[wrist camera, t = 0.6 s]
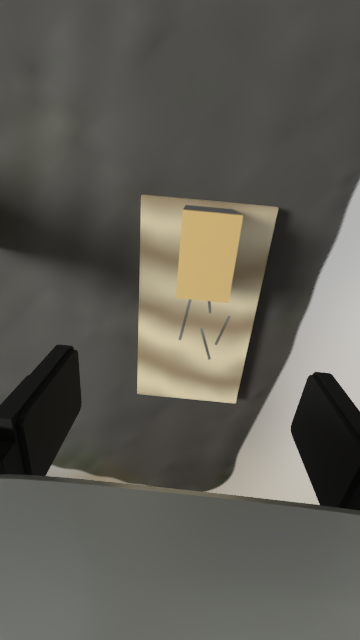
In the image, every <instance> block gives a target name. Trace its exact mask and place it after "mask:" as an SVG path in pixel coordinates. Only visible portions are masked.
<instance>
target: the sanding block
mask: <svg viewBox="0 0 360 640" xmlns="http://www.w3.org/2000/svg"><path fill="white" fill-rule="evenodd" d="M242 221H243V215H242V214H240V213H238V212H237V211H235V210H233V209H225V208H214V207H204V206H193V205H185V207H184V209H183V214H182V226H181V239H180V251H179V263H178V276H177V288H176V298H180V299H191V300H202V301H212V302H223V303H229V297H230V292H231V286H232V280H233V274H234V268H235V262H236V256H237V250H238V245H239V239H240V233H241V227H242Z"/></svg>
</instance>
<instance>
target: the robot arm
mask: <svg viewBox="0 0 360 640" xmlns="http://www.w3.org/2000/svg"><path fill="white" fill-rule="evenodd" d="M80 408H81V389H80V375H79V361H78V351H77V350H74V348H73V347H72V346H67V345H56V346H55V347H54V349H53V350H52V351H51V352H50V353H49V354H48V355H47V356H46V357H45V358H44V360H43V361H42V362H41V363H40V364H39V365H38V366H37V367H36V368H35V370H34V371H33V372H32V373H31V374H30V375H28V376H27V377H26V378H25V379H24V380H23V381H22V382H21V383H20V384H19V385H18V386H17V387H16V388H15V390H14V391H13V392H12V393H11V394H10V395H9V396H8V397H7V398H6V399H5V401H4V402H3V403H2V404H1V405H0V640H360V411H359V410H358V409H357V407H356V406H355V405H354V403H353V402H352V401H351V399H350V398H349V397H348V395H347V394H346V393H345V391H344V390H343V389H342V387H341V386H340V385H339V383H338V382H337V381H336V380H335V378H334V377H333V376H332V375H331V374H329V373H320V372H315V373H314V374H313V375H310V376H309V377H308V379H307V382H306V385H305V387H304V390H303V393H302V396H301V399H300V402H299V405H298V407H297V410H296V413H295V416H294V419H293V422H292V425H291V433H292V436H293V439H294V441H295V444H296V446H297V448H298V451H299V453H300V456H301V458H302V461H303V463H304V466H305V469H306V471H307V473H308V476H309V478H310V481H311V483H312V486H313V488H314V491H315V493H316V496H317V498H318V501H319V503H320V505H313V504H305V503H296V502H287V501H279V500H269V499H261V498H253V497H244V496H235V495H226V494H216V493H207V492H198V491H189V490H180V489H170V488H161V487H152V486H142V485H132V484H123V483H113V482H103V481H93V480H84V479H72V478H61V477H48V476H46V474H47V472H48V470H49V468H50V466H51V464H52V462H53V461H54V459H55V457H56V455H57V453H58V451H59V449H60V447H61V445H62V443H63V442H64V440H65V438H66V436H67V434H68V432H69V430H70V428H71V426H72V424H73V423H74V421H75V419H76V417H77V415H78V413H79V411H80Z"/></svg>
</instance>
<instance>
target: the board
mask: <svg viewBox="0 0 360 640" xmlns="http://www.w3.org/2000/svg"><path fill="white" fill-rule="evenodd" d="M185 205H193V206H204V207H214V208H225V209H233V210H235V211H237V212H238V213H240V214H242V215H243V221H242V227H241V233H240V239H239V245H238V250H237V256H236V262H235V268H234V274H233V280H232V286H231V292H230V297H229V303H223V302H212V301H202V300H191V299H180V298H176V288H177V276H178V263H179V251H180V239H181V226H182V214H183V209H184V207H185ZM277 213H278V207H274V206H263V205H252V204H241V203H230V202H219V201H208V200H198V199H187V198H176V197H165V196H154V195H141V228H140V279H139V330H138V381H137V394H143V395H154V396H164V397H174V398H184V399H195V400H205V401H215V402H225V403H236V399H237V395H238V390H239V386H240V381H241V377H242V372H243V368H244V363H245V359H246V354H247V349H248V345H249V340H250V336H251V331H252V327H253V322H254V318H255V313H256V308H257V304H258V299H259V295H260V290H261V286H262V281H263V277H264V272H265V267H266V263H267V258H268V254H269V249H270V245H271V240H272V236H273V231H274V227H275V222H276V217H277Z"/></svg>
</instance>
